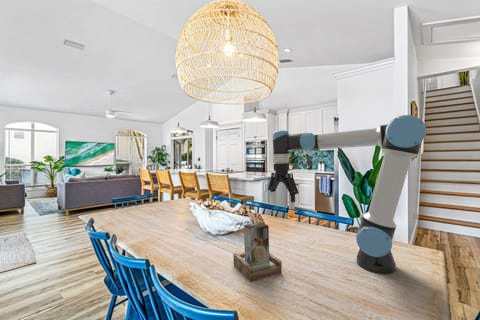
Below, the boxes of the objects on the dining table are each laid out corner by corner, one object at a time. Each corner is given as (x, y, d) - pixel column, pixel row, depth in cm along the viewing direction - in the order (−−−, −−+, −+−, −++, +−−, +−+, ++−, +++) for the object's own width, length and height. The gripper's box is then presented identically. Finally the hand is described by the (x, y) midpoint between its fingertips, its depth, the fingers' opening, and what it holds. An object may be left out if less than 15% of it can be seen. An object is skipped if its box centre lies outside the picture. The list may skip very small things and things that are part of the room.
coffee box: (261, 256, 107) (261, 221, 106) (269, 262, 101) (269, 225, 101) (244, 260, 102) (243, 224, 102) (251, 266, 97) (250, 228, 96)
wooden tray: (281, 273, 98) (281, 261, 98) (250, 281, 91) (250, 268, 91) (262, 258, 112) (261, 247, 112) (233, 265, 106) (233, 253, 106)
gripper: (305, 162, 104) (307, 210, 104) (272, 162, 125) (273, 202, 126) (292, 163, 100) (294, 212, 100) (260, 163, 122) (261, 203, 122)
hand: (282, 206), depth 113 cm, fingers open, 13 cm apart
